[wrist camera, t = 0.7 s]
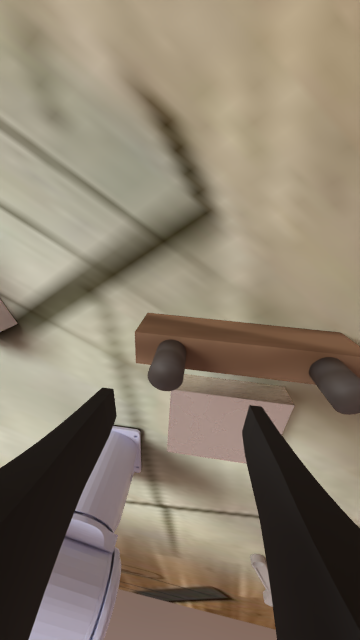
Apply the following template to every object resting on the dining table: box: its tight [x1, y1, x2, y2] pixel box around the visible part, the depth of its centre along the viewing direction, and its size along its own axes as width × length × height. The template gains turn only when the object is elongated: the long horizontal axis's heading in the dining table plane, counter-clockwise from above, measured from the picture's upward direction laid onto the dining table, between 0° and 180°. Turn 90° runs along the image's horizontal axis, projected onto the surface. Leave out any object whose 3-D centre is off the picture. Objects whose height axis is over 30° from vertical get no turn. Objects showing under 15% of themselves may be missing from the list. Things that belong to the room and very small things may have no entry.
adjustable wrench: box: [250, 554, 273, 607], centre depth 42 cm, size 25×6×2 cm, turn 17°
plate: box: [167, 374, 295, 463], centre depth 22 cm, size 10×12×3 cm
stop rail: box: [135, 313, 360, 414], centre depth 16 cm, size 3×18×7 cm, turn 86°
